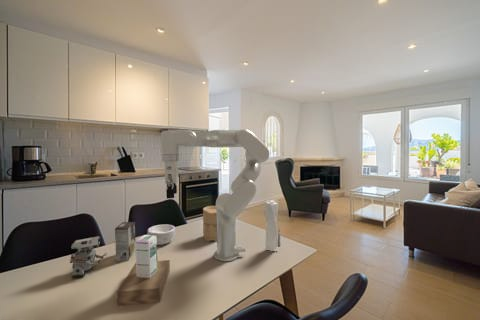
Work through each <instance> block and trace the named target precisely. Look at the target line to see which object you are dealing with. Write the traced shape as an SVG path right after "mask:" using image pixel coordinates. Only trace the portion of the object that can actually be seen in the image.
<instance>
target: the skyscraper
mask: <svg viewBox="0 0 480 320" xmlns="http://www.w3.org/2000/svg"><path fill="white" fill-rule="evenodd" d="M279 205H280V203H279V201H278V200H277V199H269V200H265V201H264V209H265V210H264V211H265V213H264V215H265V223H266V226H265V251H266V250H272V251H275V249H276V247H277V246H278V247H280V246H281V228H280V224H279V225H278V226H277V221H278V216H279ZM281 247H282V246H281ZM272 251H271V252H272Z"/></svg>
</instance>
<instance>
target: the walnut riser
mask: <svg viewBox="0 0 480 320" xmlns="http://www.w3.org/2000/svg"><path fill="white" fill-rule="evenodd" d="M170 262H171V261H170V259H168V260H167V259H165V260H164V259H162V260H157V263H158V270H157V271H156V272H155V273H154V274H153V275H152V276H151V278H142V277H137V271H136V262H135V264H134V265H133V267H132V268H131V269H130V271H129V273H128V274H127V276H126V277H125V279H124V280H123V281H122V284H120V287H119V288H118V290H117V292H116V293H117V306H126V305H128V306H131V305H139V304H150V303H160V302H161V299H162V296H163V293H164V290H165V287H166V284H167V282H168V281H167V280H168V277H169V275H170V271H171V269H170V268H171V267H170V266H171V265H170Z"/></svg>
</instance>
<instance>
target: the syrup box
mask: <svg viewBox="0 0 480 320" xmlns="http://www.w3.org/2000/svg"><path fill="white" fill-rule="evenodd" d="M135 245H136V252H135V263H136V271H137V277H142V278H151V276H152V275H153V274H154V273H155V272H156V271H157V270H158V263H157V261H158V245H157V236H155V235H148V234H143V235H142V236H141V237H139V238H138V239H136V241H135Z"/></svg>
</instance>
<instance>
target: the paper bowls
mask: <svg viewBox="0 0 480 320" xmlns="http://www.w3.org/2000/svg"><path fill="white" fill-rule="evenodd" d="M147 235H155V236H157V246H162V245H166V244H169V243H170V242H171V241H172V239H174V238H175V237H176V227H175V225H172V224H157V225H152V226H151V227H149V228H147Z"/></svg>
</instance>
